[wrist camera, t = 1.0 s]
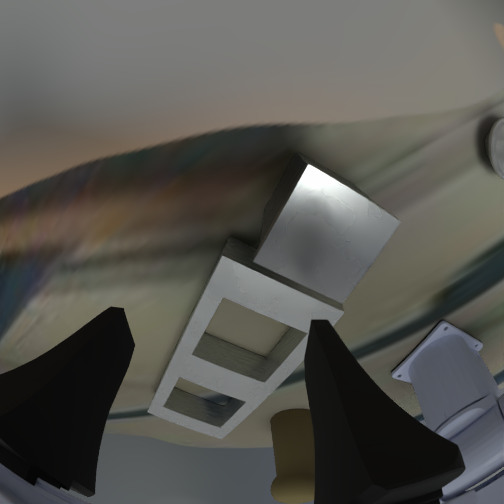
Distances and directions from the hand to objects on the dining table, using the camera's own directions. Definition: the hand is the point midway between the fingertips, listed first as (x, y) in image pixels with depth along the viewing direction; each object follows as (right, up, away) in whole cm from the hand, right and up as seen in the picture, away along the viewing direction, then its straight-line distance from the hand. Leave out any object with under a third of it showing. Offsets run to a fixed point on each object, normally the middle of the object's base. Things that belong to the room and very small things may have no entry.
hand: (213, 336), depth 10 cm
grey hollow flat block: (-1, -6, +15) cm, 16 cm away
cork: (+7, -17, +19) cm, 27 cm away
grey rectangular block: (+5, +7, +8) cm, 12 cm away
